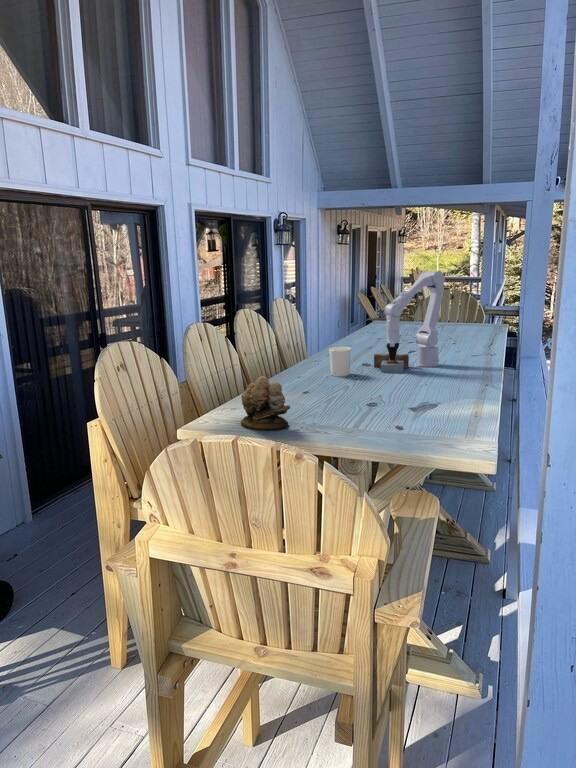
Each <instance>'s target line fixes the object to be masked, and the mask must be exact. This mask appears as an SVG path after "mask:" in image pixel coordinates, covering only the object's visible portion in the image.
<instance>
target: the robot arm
mask: <svg viewBox="0 0 576 768" xmlns="http://www.w3.org/2000/svg"><path fill="white" fill-rule="evenodd" d="M445 281H446V276H445V275H444V273H443V272H442V271H440V270H436V271H434V270H433V271H432V270H423V272H421V274H419V276H418V277H417V280H416V281H415V282H414V283H413V284H412V285H411V286H410V287H409V289H407V290H406V291H403V292H399V293H398V294H399V295H398V296H397V297H396V298H395V299H393V300H392V302H391V303H388V304H387V305H386V306H385V308H384V310H383V312H384V314H385V319H386V339H383V341H384V342H385V343H386V346H385V347H386V348H387V352H388V354H389V357H390V360H395V358H396V352H397V351H398V349H399V347H400V341H401V340H400V318H401V317H400V316H402V314H403V313H404V309H405V308H406V307H407V306H408V305H409V304H410V303H411V302H412V300H413V297H414V296H415V295H416V294H417V293H418V292H419V291H420V290H422V289H423V288H424V287H427V289H428V290H429V292H430V295H429V300H428V305H427V308H426V313H425V317H424V321H423V325H422V326H421V327H419V328H418V331H417V333H416V334H415V337H414V340H415V343H416V344H417V347H418V350H417V351H418V352H417V353H418V354H417V362H416V366H417V367H420V368H421V367H422V368H424V367H425V368H427V367H428V368H435V367H436V368H437V367H439V361H440V359H439V346H436V345H437V344H438V341H439V339H438V338H439V337H438V334H439V332H438V330H437V329H436V325H437V321H438V317H439V313H440V310H441V305H442V301H443V296H444V292H445ZM397 353H398V352H397Z"/></svg>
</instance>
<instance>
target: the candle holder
mask: <svg viewBox="0 0 576 768" xmlns="http://www.w3.org/2000/svg"><path fill="white" fill-rule="evenodd" d="M351 350H352V348H351V347H347V346H334V347H329V348H328V353H329V354H328V355H329V365H330V375H331V376H332V375H333V376H332V377H335V376H344V377H348V376H350V374H351V354H352V353H351ZM347 375H348V376H347Z"/></svg>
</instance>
